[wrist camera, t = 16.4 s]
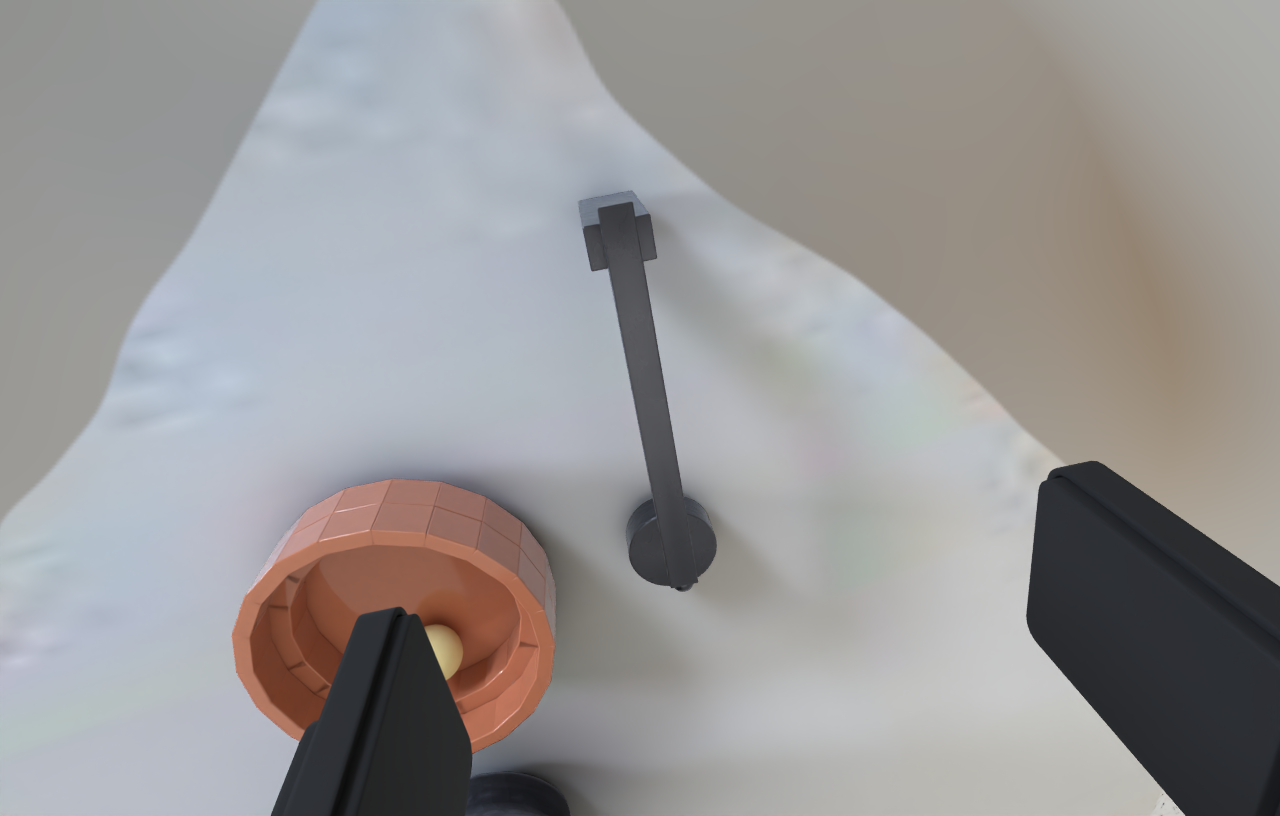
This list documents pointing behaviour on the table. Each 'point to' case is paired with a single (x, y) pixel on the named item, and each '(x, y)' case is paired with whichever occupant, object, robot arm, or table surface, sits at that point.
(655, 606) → the table surface
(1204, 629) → the robot arm
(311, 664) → the bowl
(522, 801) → the pitcher
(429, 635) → the pale yellow ball
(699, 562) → the black lever handle
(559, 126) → the table surface
